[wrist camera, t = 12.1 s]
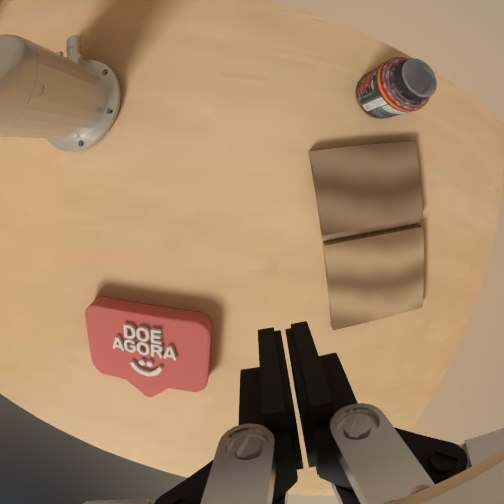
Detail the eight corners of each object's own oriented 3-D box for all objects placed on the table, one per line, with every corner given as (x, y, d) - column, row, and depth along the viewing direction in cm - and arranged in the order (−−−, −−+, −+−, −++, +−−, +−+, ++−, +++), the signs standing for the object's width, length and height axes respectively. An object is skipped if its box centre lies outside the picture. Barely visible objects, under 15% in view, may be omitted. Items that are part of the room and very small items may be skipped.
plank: (322, 242, 37) (324, 245, 36) (419, 224, 36) (423, 226, 35) (330, 325, 40) (333, 330, 39) (418, 303, 40) (422, 307, 39)
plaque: (95, 386, 40) (81, 304, 36) (104, 373, 43) (93, 292, 39) (205, 409, 40) (210, 326, 36) (208, 392, 44) (213, 311, 40)
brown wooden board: (308, 151, 34) (310, 151, 33) (410, 141, 33) (415, 140, 32) (322, 239, 37) (324, 242, 36) (419, 221, 36) (423, 223, 35)
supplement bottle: (360, 67, 31) (400, 37, 20) (400, 88, 31) (449, 68, 20) (347, 107, 32) (386, 87, 21) (389, 127, 33) (438, 118, 22)
